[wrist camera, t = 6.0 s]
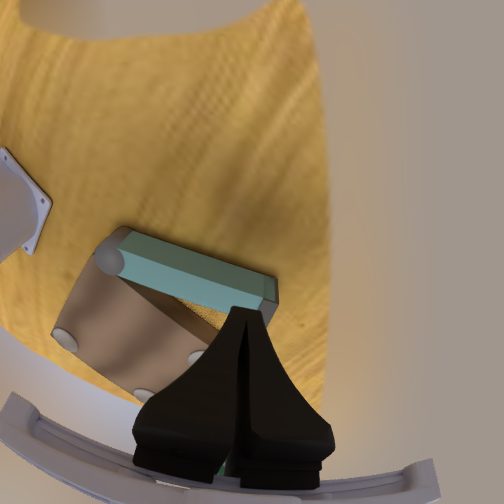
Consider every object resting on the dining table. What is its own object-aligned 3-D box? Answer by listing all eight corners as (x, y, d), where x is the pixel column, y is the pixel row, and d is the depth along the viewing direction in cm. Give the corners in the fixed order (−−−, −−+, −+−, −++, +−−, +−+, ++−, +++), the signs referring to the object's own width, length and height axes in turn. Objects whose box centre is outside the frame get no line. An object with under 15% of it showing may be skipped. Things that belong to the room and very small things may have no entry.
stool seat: (59, 322, 28) (49, 336, 25) (106, 240, 22) (90, 255, 19) (158, 392, 32) (153, 409, 30) (239, 345, 27) (236, 366, 24)
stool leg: (111, 249, 22) (93, 268, 19) (114, 222, 21) (94, 240, 18) (266, 302, 24) (266, 327, 21) (278, 278, 22) (279, 303, 19)
